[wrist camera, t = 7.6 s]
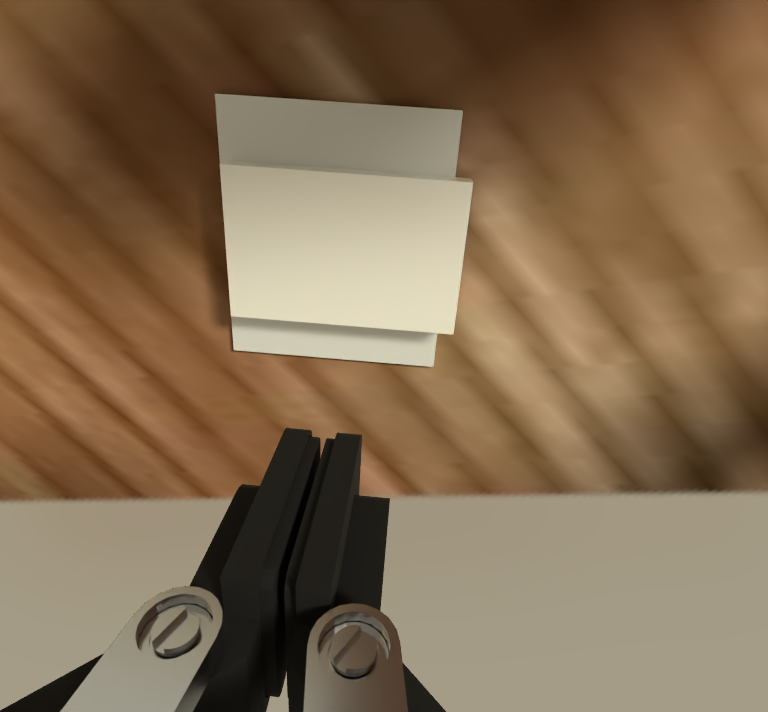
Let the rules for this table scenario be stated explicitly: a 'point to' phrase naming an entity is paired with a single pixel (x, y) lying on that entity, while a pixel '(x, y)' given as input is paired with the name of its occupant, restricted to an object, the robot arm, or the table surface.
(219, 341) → the table surface
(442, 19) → the table surface
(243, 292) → the glazed tile
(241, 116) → the mat
